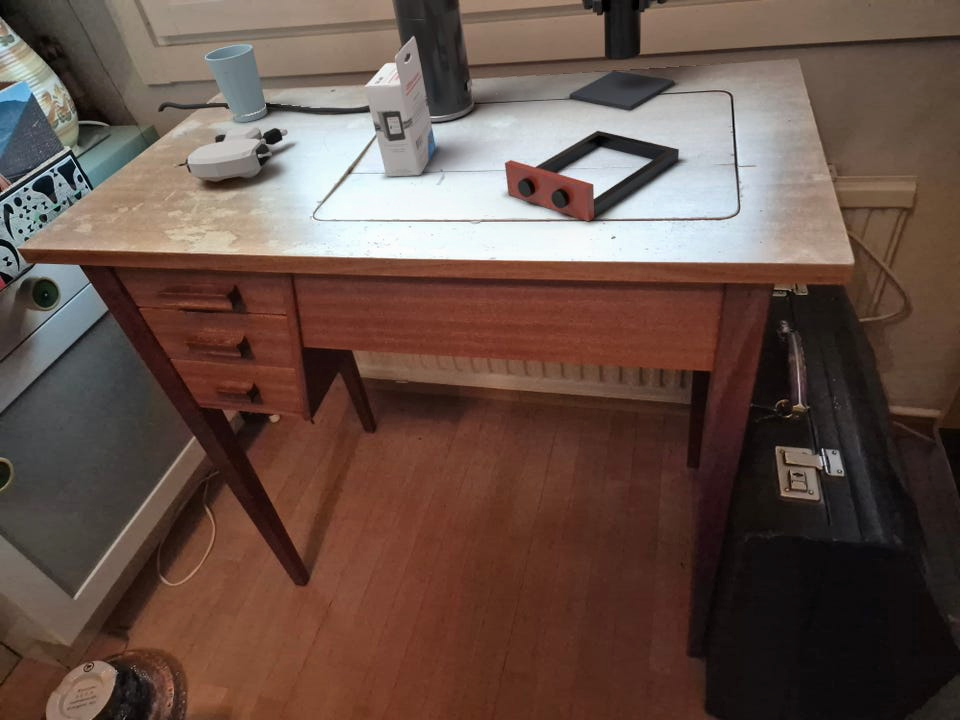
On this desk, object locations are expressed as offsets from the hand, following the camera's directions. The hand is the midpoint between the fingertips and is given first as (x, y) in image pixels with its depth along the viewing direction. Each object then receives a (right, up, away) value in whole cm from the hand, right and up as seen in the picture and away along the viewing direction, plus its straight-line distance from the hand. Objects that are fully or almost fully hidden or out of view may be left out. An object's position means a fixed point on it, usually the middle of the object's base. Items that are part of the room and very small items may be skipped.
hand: (620, 5), depth 88 cm
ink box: (-28, -21, 0) cm, 35 cm away
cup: (-58, -6, +24) cm, 63 cm away
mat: (+2, -8, +10) cm, 12 cm away
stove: (-5, -26, -10) cm, 28 cm away
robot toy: (-53, -20, +7) cm, 57 cm away
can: (+2, -3, +6) cm, 7 cm away
